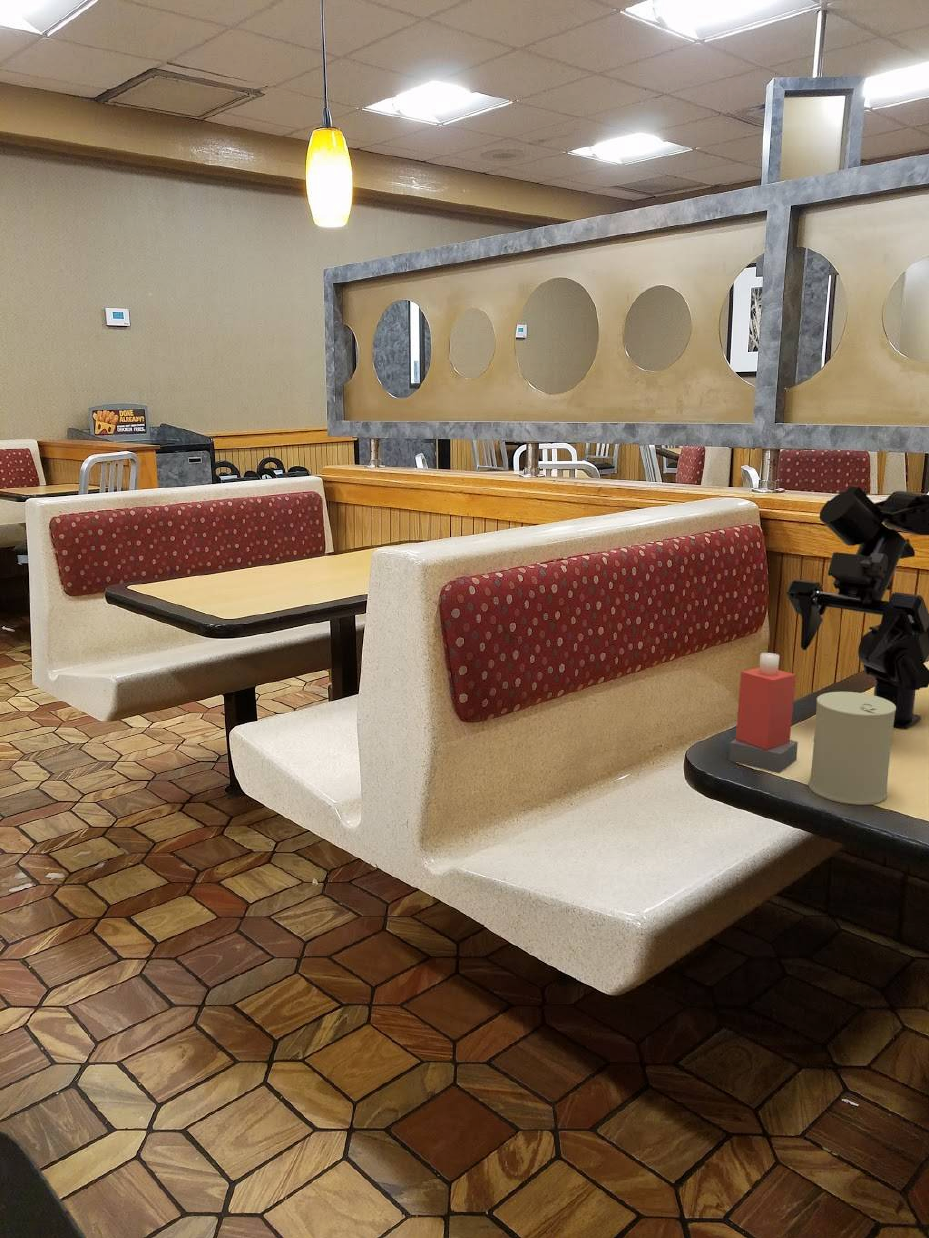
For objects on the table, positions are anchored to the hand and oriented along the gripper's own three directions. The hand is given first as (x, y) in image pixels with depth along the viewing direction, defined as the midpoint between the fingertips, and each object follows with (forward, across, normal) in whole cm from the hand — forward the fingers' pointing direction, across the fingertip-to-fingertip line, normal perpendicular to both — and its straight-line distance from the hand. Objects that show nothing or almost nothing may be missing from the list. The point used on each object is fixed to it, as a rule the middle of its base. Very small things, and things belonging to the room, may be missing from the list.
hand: (834, 654), depth 135 cm
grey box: (+18, -3, +1) cm, 18 cm away
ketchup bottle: (+16, -4, -1) cm, 16 cm away
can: (+19, +9, -1) cm, 21 cm away
